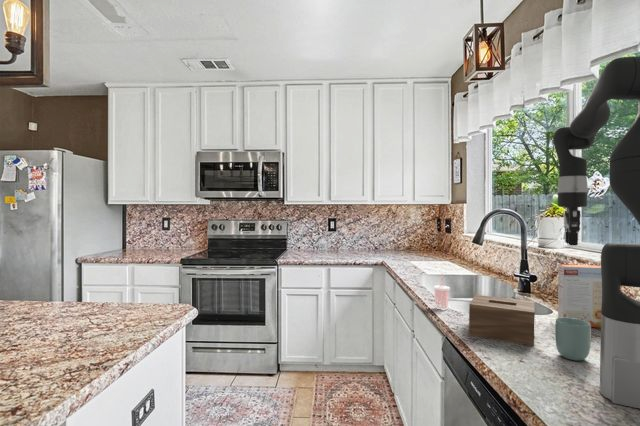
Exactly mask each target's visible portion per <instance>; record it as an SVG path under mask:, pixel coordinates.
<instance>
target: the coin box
mask: <svg viewBox="0 0 640 426" xmlns="http://www.w3.org/2000/svg"><path fill="white" fill-rule="evenodd" d="M468 311H469V312H468V313H469V315H468V335H469V336H470V337H471V336H473V337H479V338H483V339H484V338H485V339H490V340H496V341H500V342H501V341H502V342H507V343H514V344H519V345H526V346H533V347H534V346H535V311H536V310H535V301H533V300H524V299H517V298H506V297H501V296H500V297H499V296H490V295H484V294H483V295H482V294H474V297H473V298H472V299H471V301H470V302H469V310H468Z"/></svg>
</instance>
